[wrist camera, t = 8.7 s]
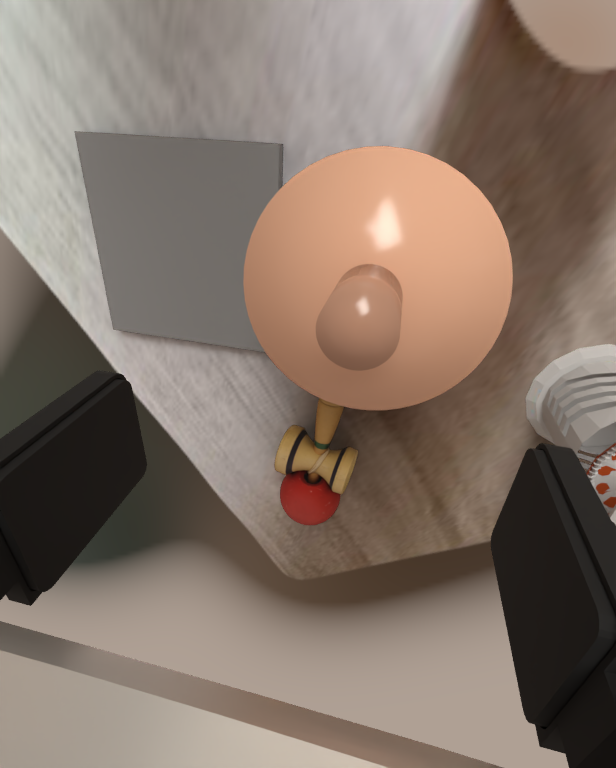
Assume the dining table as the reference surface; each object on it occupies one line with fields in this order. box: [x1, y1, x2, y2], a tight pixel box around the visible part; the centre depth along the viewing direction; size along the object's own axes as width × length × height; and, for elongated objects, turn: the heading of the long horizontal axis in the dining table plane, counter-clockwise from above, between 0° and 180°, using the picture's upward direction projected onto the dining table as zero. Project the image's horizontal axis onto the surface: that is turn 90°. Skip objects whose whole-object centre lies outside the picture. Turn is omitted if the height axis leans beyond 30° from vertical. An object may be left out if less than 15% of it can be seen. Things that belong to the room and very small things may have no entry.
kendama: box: [275, 398, 358, 525], centre depth 38 cm, size 8×6×18 cm
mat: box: [75, 131, 283, 352], centre depth 34 cm, size 16×16×1 cm
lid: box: [243, 146, 513, 410], centre depth 20 cm, size 14×14×6 cm
